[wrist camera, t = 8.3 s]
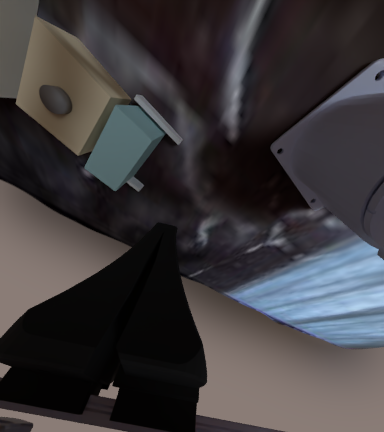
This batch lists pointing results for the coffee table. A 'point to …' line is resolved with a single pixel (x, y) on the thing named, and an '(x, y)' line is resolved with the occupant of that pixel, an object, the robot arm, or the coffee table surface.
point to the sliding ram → (123, 145)
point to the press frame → (17, 50)
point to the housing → (67, 88)
